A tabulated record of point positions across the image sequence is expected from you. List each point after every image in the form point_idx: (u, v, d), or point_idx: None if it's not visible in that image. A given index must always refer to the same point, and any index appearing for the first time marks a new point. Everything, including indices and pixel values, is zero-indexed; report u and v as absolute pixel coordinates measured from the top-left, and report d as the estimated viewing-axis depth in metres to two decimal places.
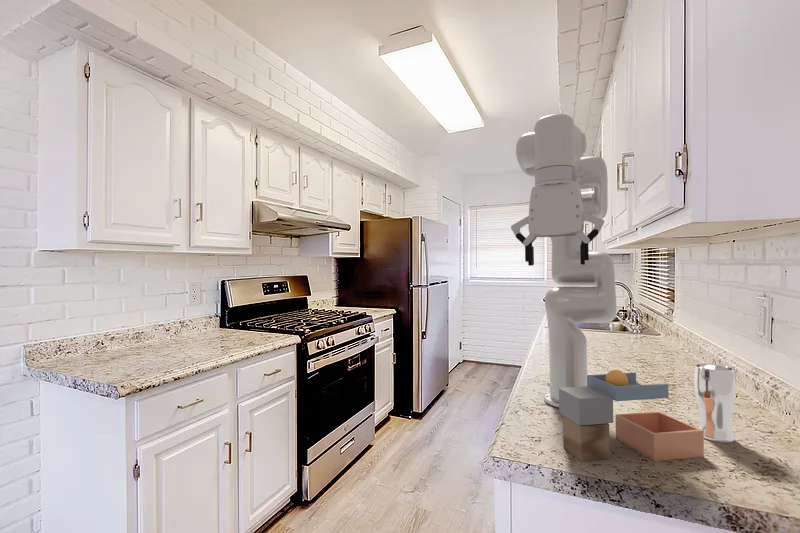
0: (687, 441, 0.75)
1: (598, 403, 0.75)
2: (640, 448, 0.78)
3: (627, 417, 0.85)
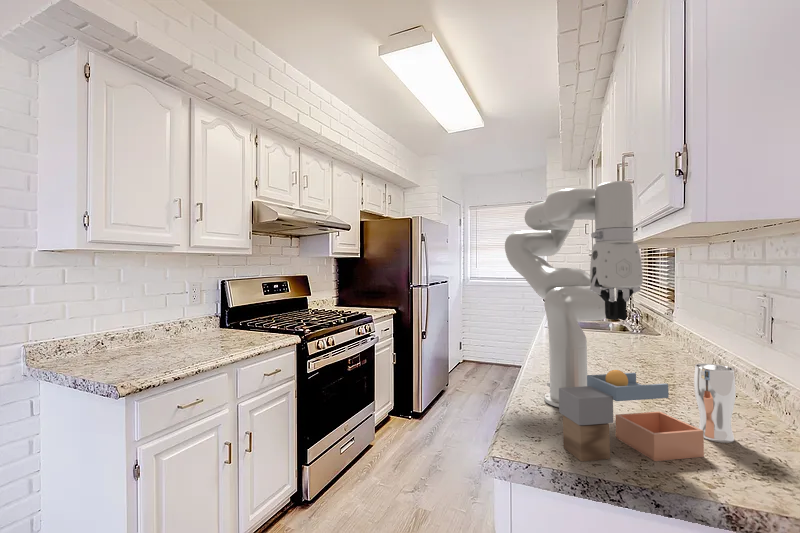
0: (687, 441, 0.75)
1: (598, 403, 0.75)
2: (640, 448, 0.78)
3: (627, 417, 0.85)
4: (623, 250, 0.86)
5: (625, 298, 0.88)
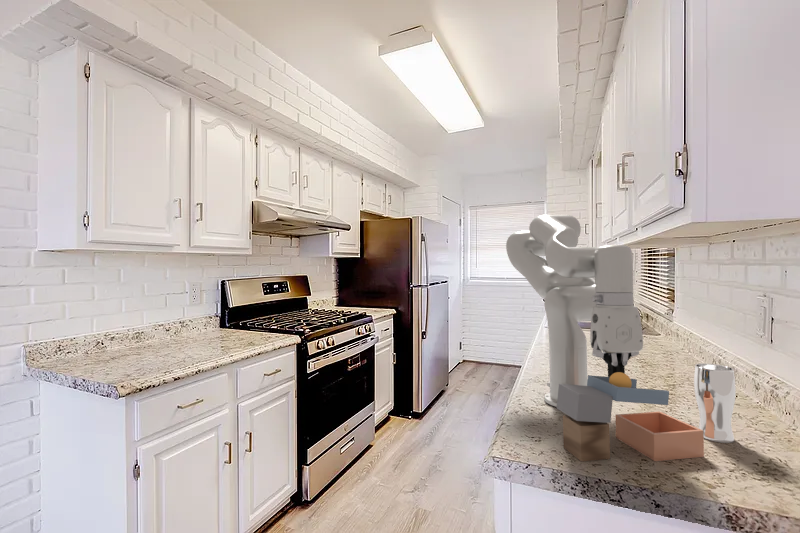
0: (687, 441, 0.75)
1: (597, 401, 0.75)
2: (640, 448, 0.78)
3: (627, 417, 0.85)
4: (623, 315, 0.86)
5: (623, 362, 0.87)
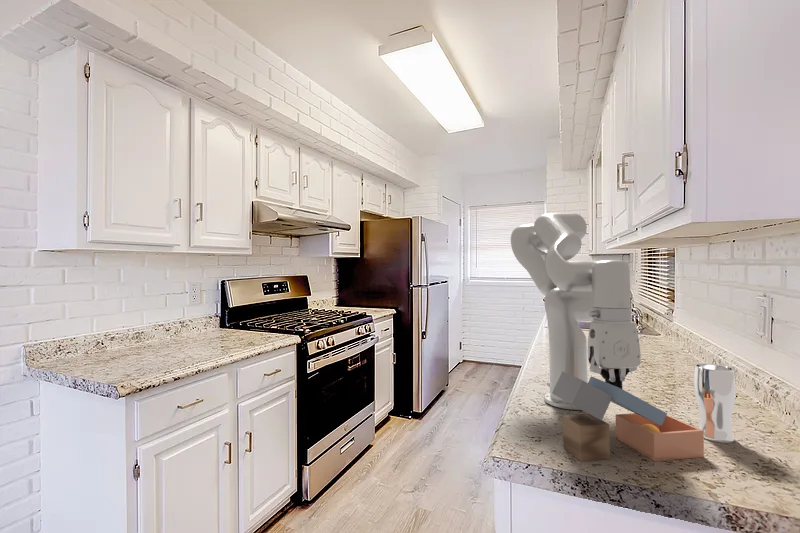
0: (687, 441, 0.75)
1: (597, 394, 0.75)
2: (640, 448, 0.78)
3: (627, 417, 0.85)
4: (620, 331, 0.85)
5: (621, 378, 0.87)
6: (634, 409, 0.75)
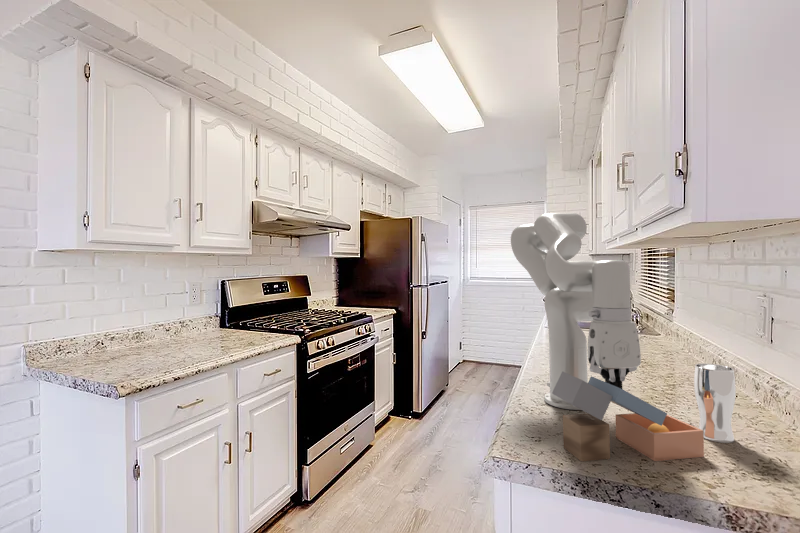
0: (687, 441, 0.75)
1: (597, 394, 0.75)
2: (640, 448, 0.78)
3: (627, 417, 0.85)
4: (620, 331, 0.85)
5: (621, 378, 0.87)
6: (634, 409, 0.75)
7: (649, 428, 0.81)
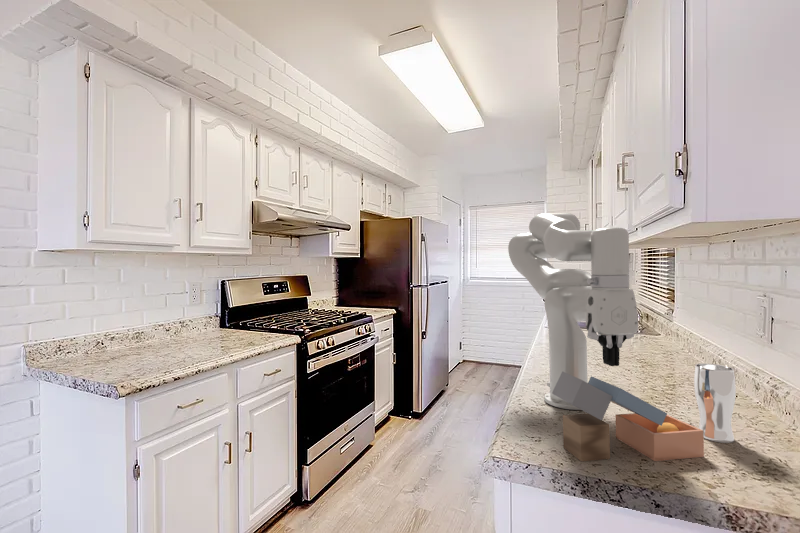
0: (687, 441, 0.75)
1: (597, 394, 0.75)
2: (640, 448, 0.78)
3: (627, 417, 0.85)
4: (618, 297, 0.86)
5: (618, 344, 0.88)
6: (634, 409, 0.75)
7: None
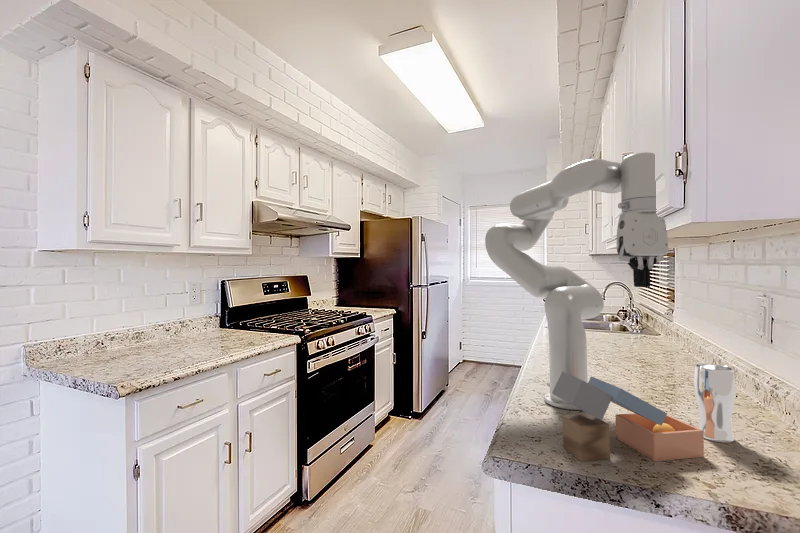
0: (687, 441, 0.75)
1: (597, 394, 0.75)
2: (640, 448, 0.78)
3: (627, 417, 0.85)
4: (649, 219, 0.89)
5: (649, 266, 0.90)
6: (634, 409, 0.75)
7: None
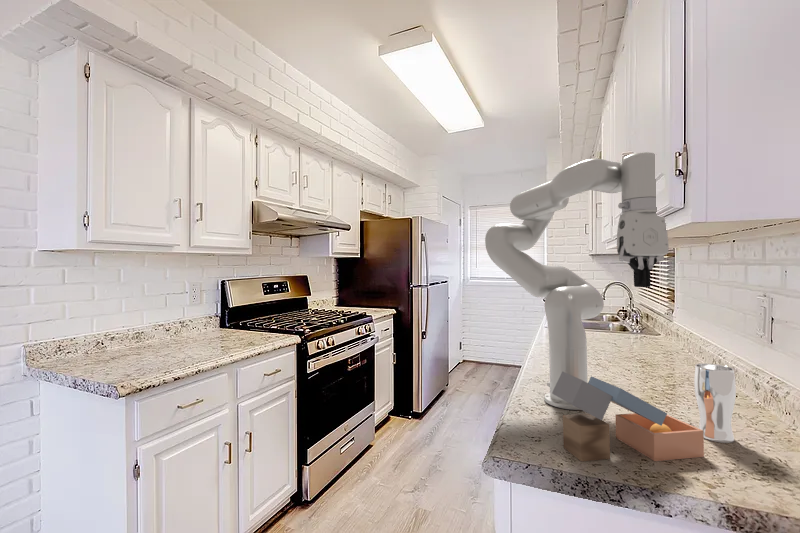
0: (687, 441, 0.75)
1: (597, 394, 0.75)
2: (640, 448, 0.78)
3: (627, 417, 0.85)
4: (649, 219, 0.89)
5: (649, 266, 0.90)
6: (634, 409, 0.75)
7: (653, 426, 0.81)
